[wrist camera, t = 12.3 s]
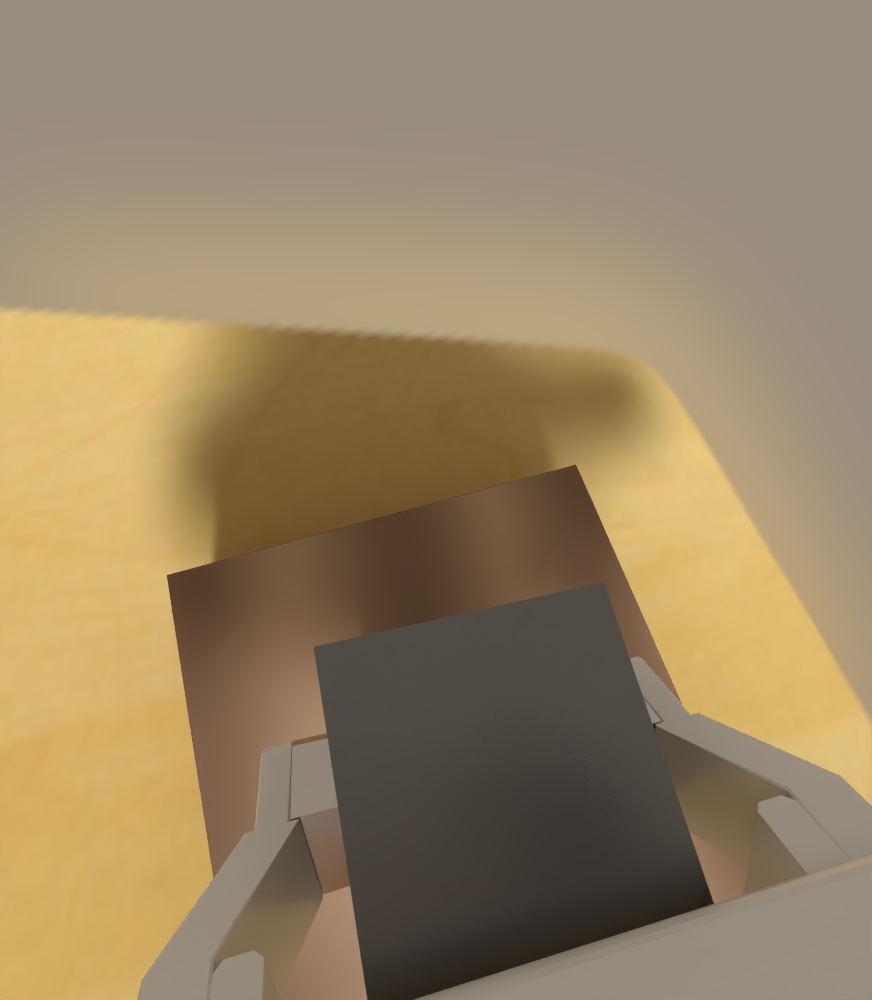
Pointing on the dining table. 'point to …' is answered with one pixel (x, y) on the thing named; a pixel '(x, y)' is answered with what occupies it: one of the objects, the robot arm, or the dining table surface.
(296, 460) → the dining table surface
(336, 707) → the grey tin
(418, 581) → the walnut block
